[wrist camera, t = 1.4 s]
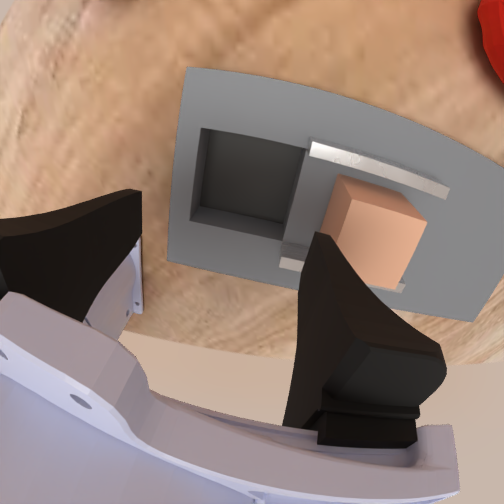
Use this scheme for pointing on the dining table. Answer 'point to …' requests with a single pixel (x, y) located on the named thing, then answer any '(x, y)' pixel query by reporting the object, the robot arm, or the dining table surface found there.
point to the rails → (326, 150)
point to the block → (373, 229)
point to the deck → (323, 188)
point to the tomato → (493, 33)
